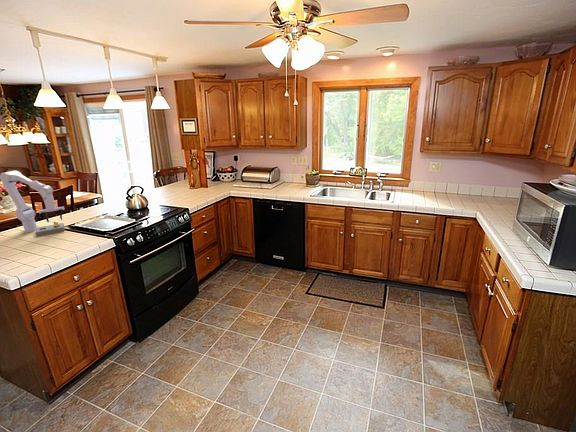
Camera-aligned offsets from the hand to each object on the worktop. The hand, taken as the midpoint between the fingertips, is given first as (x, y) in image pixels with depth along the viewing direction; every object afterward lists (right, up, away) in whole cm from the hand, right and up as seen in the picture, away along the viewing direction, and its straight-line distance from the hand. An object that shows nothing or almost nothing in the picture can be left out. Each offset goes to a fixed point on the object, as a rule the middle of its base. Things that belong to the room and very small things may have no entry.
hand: (54, 220), depth 216 cm
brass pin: (0, -6, +2) cm, 7 cm away
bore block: (-3, -8, 0) cm, 8 cm away
